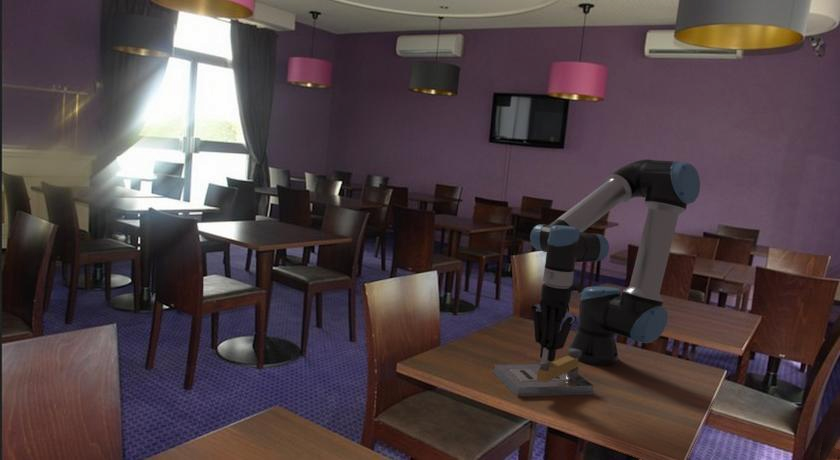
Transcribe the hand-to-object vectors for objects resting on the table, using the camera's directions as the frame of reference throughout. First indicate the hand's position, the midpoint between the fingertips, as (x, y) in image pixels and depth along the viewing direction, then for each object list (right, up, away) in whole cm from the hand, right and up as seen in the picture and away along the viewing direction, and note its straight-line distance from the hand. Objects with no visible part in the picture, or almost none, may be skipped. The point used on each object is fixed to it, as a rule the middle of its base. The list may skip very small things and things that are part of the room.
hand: (545, 371), depth 160 cm
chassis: (0, -5, +6) cm, 8 cm away
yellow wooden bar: (+4, -1, +2) cm, 4 cm away
